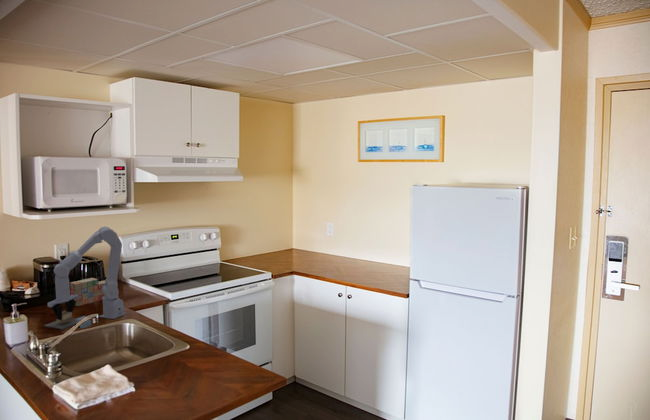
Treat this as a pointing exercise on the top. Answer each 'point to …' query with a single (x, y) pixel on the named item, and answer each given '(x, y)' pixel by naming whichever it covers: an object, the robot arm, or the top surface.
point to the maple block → (65, 317)
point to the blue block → (85, 324)
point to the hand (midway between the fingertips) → (64, 317)
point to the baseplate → (61, 324)
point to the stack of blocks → (87, 290)
